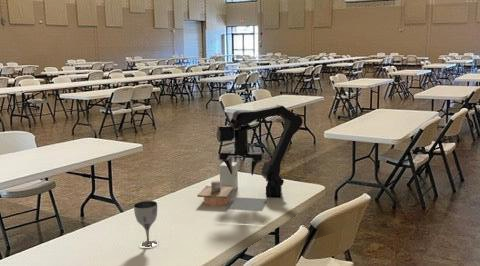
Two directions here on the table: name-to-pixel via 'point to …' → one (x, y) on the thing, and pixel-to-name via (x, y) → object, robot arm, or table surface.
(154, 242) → the wine glass
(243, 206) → the mat
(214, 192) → the lid
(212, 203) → the bowl
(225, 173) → the supplement box
